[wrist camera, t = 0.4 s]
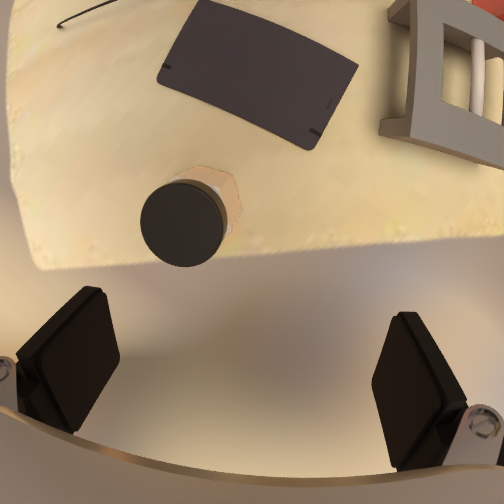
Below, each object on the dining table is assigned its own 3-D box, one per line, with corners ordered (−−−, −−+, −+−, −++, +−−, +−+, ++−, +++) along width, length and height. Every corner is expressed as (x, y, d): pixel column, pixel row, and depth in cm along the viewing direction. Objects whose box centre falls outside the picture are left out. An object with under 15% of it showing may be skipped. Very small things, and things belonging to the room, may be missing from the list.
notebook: (356, 67, 32) (202, 2, 30) (359, 65, 31) (199, -3, 29) (310, 152, 37) (158, 83, 35) (311, 153, 35) (153, 81, 33)
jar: (169, 220, 41) (130, 253, 30) (181, 160, 38) (143, 172, 27) (234, 238, 41) (216, 280, 30) (250, 178, 38) (238, 197, 27)
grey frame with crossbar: (388, 8, 28) (416, -21, 18) (486, 48, 27) (527, 36, 18) (378, 135, 34) (409, 137, 25) (478, 163, 34) (522, 175, 24)
